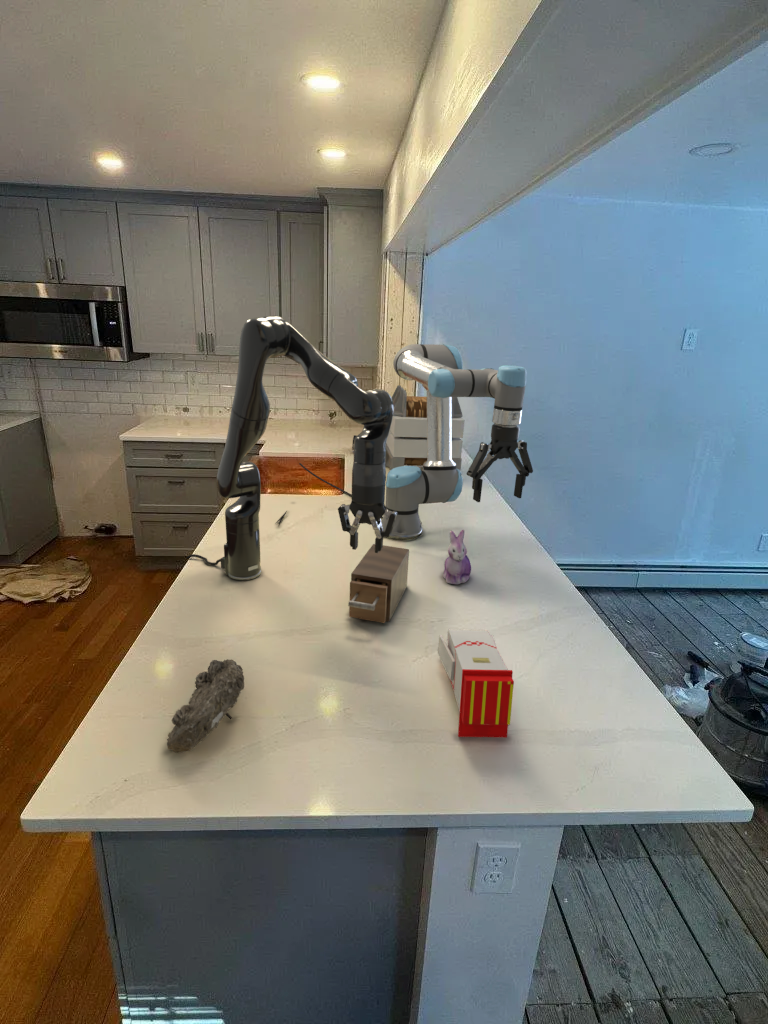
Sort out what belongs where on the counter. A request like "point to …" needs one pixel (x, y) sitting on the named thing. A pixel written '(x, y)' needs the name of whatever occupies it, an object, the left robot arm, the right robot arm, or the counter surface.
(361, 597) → the drawer
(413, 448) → the white tiered storage organizer
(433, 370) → the right robot arm
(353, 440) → the figurine character
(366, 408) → the left robot arm
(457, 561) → the figurine
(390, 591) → the cabinet
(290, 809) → the counter surface
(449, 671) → the toy
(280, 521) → the feather
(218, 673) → the fossil
